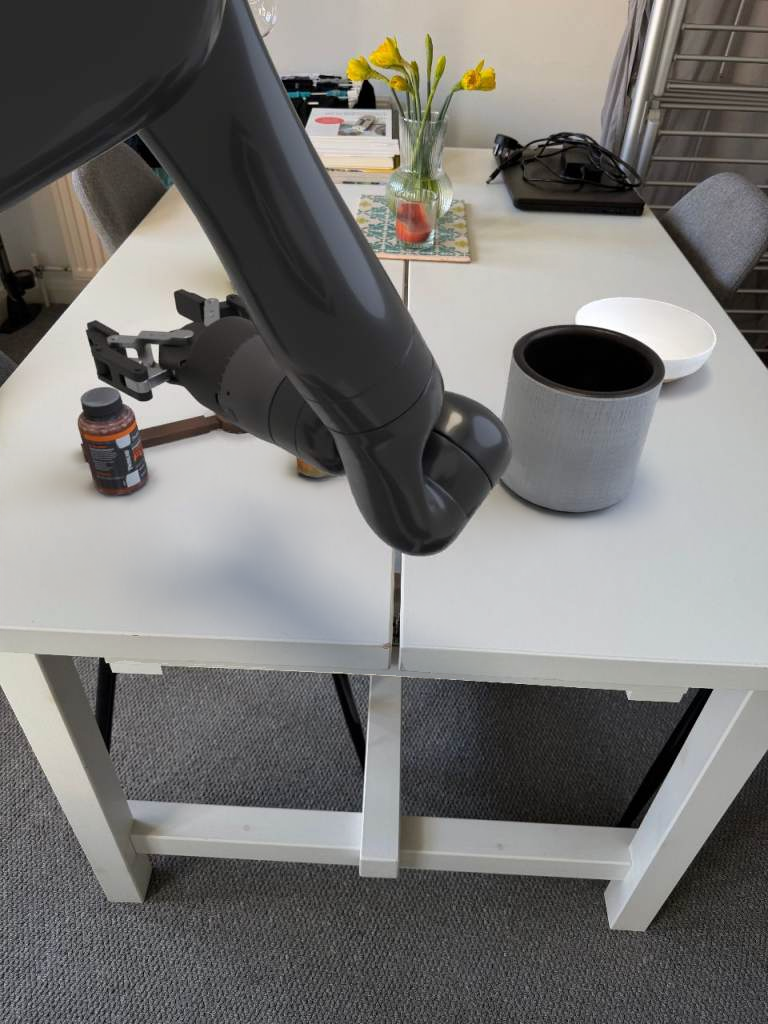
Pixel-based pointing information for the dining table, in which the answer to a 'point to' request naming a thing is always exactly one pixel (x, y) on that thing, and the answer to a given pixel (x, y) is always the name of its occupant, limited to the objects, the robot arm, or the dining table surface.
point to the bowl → (655, 330)
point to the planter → (578, 415)
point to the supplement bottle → (111, 442)
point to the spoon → (183, 430)
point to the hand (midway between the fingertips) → (136, 315)
